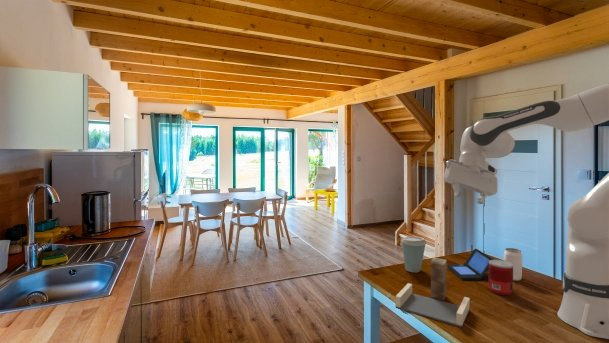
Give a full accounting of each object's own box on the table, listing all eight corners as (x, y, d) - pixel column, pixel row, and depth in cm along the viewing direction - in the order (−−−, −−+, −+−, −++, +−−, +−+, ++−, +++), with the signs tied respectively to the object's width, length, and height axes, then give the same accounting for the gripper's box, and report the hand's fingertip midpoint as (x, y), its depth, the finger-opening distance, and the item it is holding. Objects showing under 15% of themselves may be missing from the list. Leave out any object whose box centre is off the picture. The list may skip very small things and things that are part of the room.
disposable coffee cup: (396, 269, 143) (396, 237, 142) (410, 263, 150) (410, 233, 149) (416, 276, 135) (417, 242, 134) (430, 270, 142) (430, 238, 141)
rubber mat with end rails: (469, 310, 106) (469, 298, 106) (461, 327, 96) (462, 314, 96) (408, 293, 119) (408, 283, 119) (395, 307, 109) (395, 296, 108)
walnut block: (446, 296, 116) (446, 259, 116) (443, 300, 113) (444, 263, 112) (433, 293, 119) (434, 257, 118) (430, 297, 116) (431, 260, 115)
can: (524, 281, 129) (525, 252, 128) (507, 280, 130) (508, 252, 129) (517, 275, 135) (517, 248, 134) (500, 274, 136) (501, 247, 135)
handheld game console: (446, 267, 146) (446, 247, 145) (475, 267, 145) (475, 247, 145) (461, 281, 130) (462, 259, 130) (494, 281, 130) (494, 259, 129)
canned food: (516, 296, 116) (517, 267, 115) (492, 294, 118) (493, 265, 117) (507, 287, 123) (508, 260, 123) (485, 285, 125) (485, 258, 124)
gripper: (452, 154, 115) (449, 189, 110) (501, 171, 117) (499, 205, 113) (442, 160, 121) (438, 193, 116) (488, 175, 123) (486, 209, 119)
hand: (469, 199), depth 115 cm, fingers open, 8 cm apart
